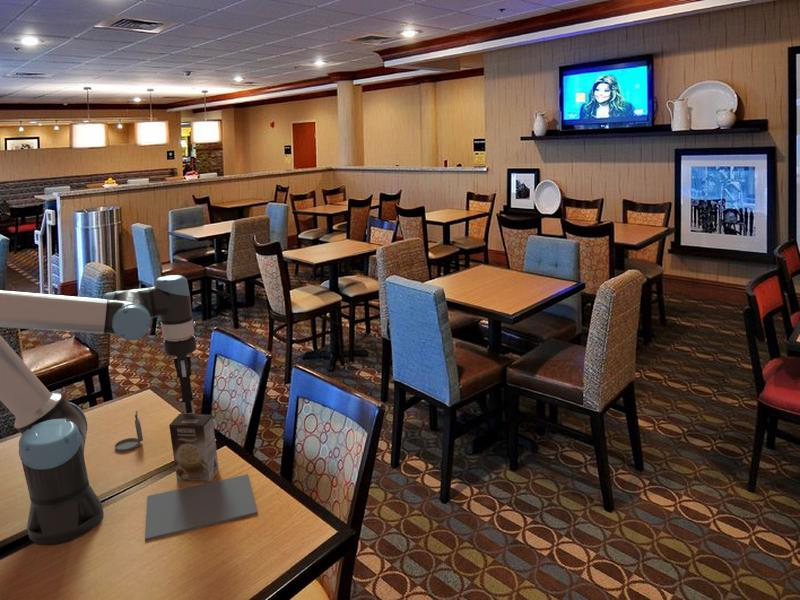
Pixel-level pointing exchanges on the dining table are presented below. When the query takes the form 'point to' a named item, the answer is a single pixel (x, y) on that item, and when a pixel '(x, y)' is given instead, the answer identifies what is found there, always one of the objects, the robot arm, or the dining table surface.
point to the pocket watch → (131, 442)
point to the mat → (199, 506)
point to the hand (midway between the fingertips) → (190, 422)
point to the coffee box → (194, 447)
